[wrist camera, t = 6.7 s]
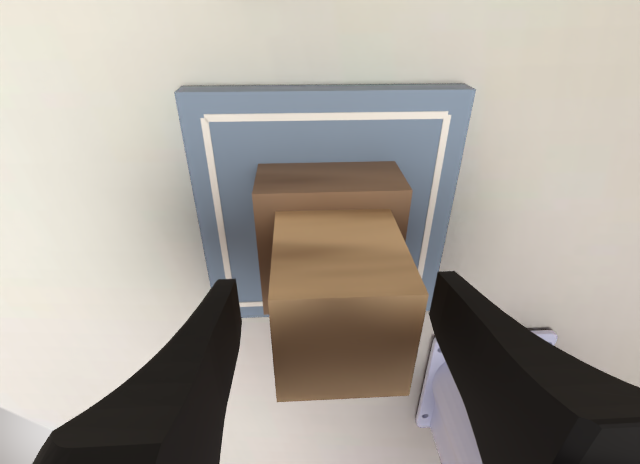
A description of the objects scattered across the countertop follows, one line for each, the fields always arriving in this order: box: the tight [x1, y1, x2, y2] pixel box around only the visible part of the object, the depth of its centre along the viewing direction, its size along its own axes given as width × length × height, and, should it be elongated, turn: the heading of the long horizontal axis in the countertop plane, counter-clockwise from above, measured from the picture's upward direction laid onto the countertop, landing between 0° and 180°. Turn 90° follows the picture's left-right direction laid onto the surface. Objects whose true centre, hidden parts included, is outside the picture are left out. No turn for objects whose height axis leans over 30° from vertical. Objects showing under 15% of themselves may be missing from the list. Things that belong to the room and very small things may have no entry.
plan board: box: [174, 84, 476, 318], centre depth 18 cm, size 12×12×4 cm
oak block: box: [268, 209, 429, 402], centre depth 14 cm, size 4×4×5 cm
